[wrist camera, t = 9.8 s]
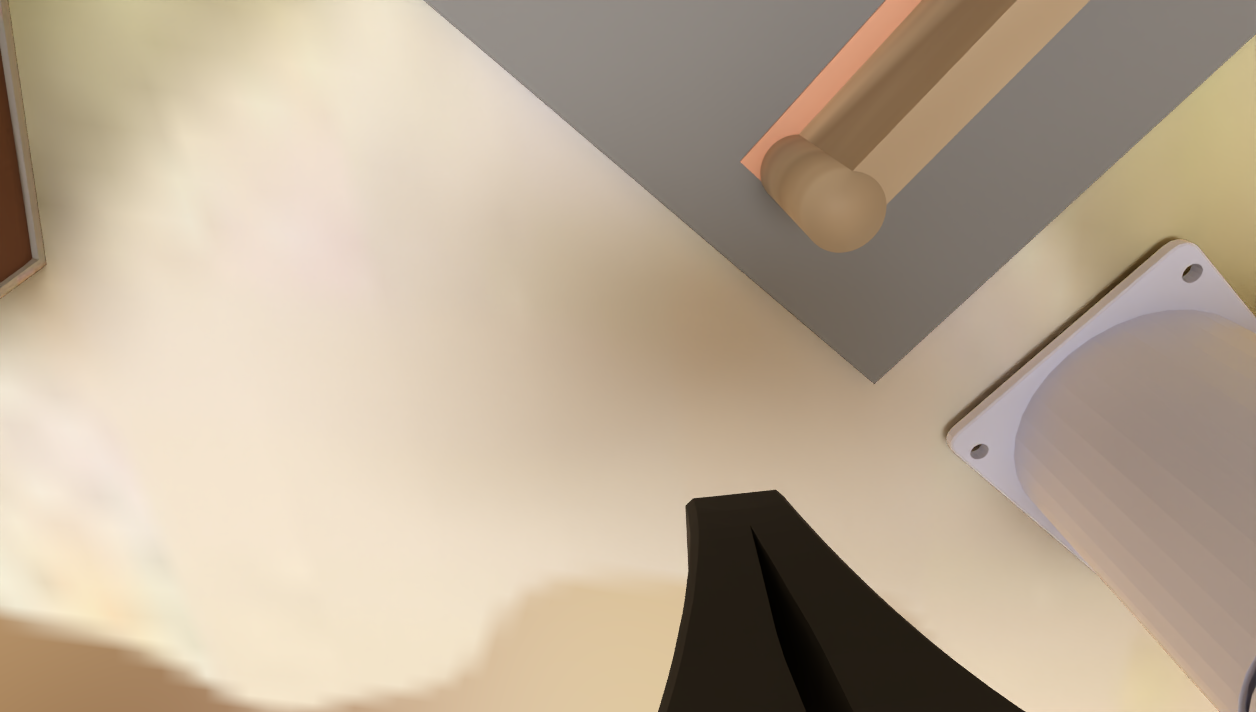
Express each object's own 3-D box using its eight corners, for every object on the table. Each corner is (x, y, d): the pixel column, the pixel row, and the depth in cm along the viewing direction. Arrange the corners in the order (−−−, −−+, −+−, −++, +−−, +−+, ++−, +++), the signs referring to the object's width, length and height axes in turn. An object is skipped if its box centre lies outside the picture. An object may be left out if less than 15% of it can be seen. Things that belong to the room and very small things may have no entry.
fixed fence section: (1178, -191, 15) (1360, -239, 12) (792, 215, 18) (845, 271, 15) (1137, -258, 15) (1315, -330, 11) (745, 172, 18) (790, 221, 14)
